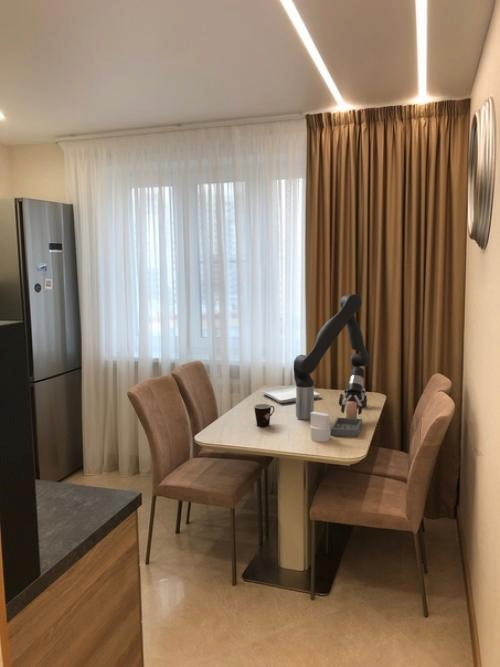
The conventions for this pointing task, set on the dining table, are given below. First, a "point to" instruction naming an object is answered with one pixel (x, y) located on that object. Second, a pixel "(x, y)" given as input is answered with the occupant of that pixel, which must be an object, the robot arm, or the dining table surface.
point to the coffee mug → (263, 414)
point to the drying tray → (346, 427)
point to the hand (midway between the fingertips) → (350, 413)
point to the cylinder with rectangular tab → (319, 427)
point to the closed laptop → (284, 393)
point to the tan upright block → (351, 409)
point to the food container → (361, 395)
